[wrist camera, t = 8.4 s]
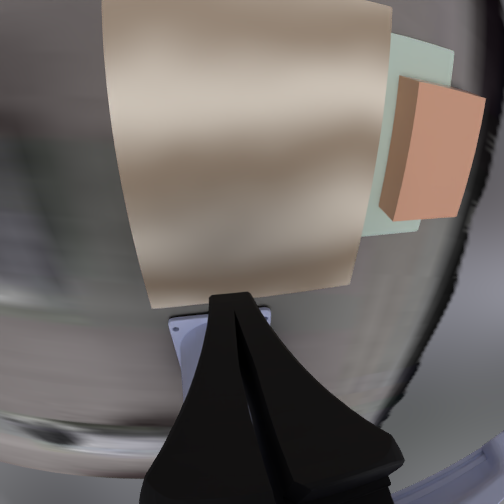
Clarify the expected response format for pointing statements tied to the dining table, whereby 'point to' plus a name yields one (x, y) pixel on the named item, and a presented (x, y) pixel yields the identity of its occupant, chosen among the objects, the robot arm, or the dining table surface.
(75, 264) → the dining table surface
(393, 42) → the mat
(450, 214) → the tile
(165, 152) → the plate
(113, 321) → the dining table surface
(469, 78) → the dining table surface
